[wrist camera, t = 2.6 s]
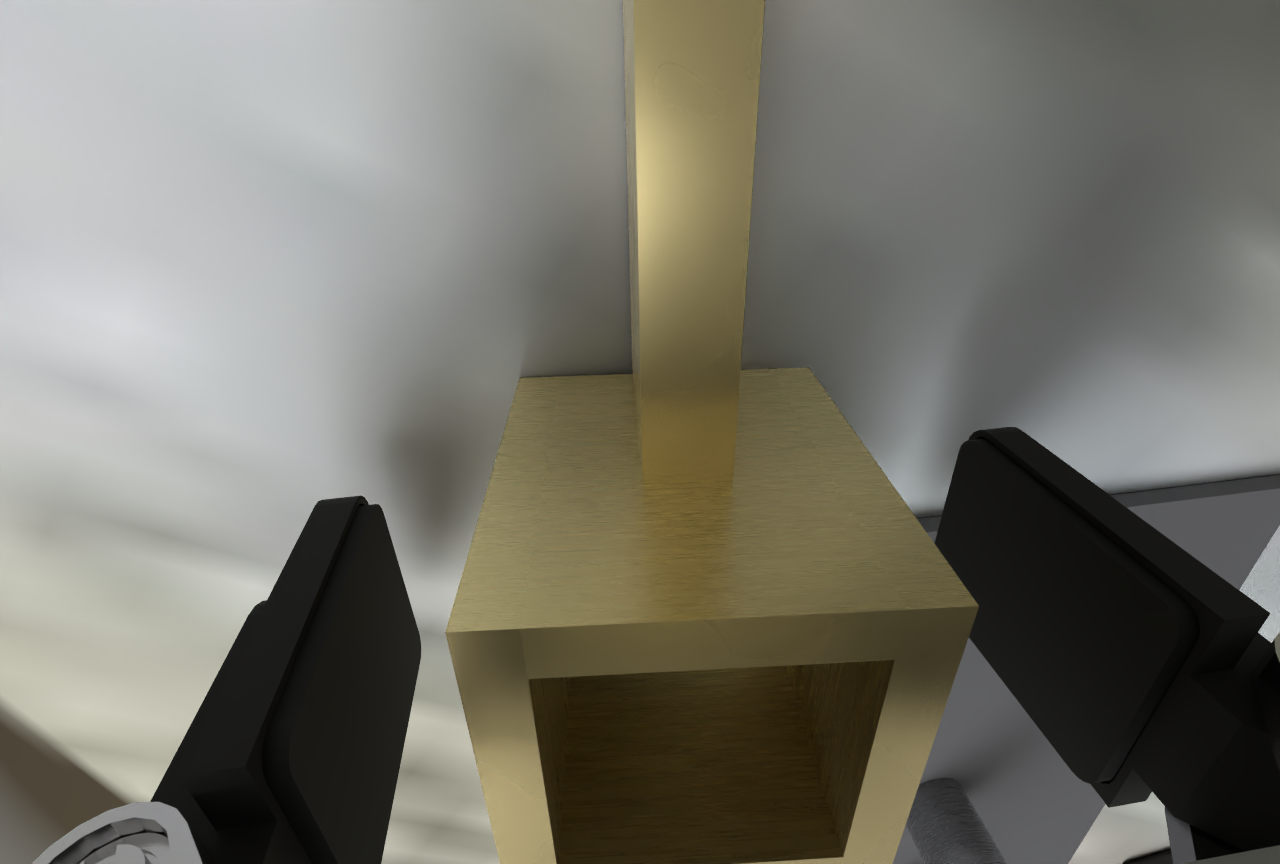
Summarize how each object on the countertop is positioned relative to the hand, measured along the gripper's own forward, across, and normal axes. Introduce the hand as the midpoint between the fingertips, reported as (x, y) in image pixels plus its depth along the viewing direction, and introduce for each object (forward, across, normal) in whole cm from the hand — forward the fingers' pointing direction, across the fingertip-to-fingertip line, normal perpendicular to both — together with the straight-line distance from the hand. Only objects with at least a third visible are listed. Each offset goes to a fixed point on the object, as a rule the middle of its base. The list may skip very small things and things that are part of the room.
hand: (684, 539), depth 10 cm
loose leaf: (+1, 0, -4) cm, 4 cm away
